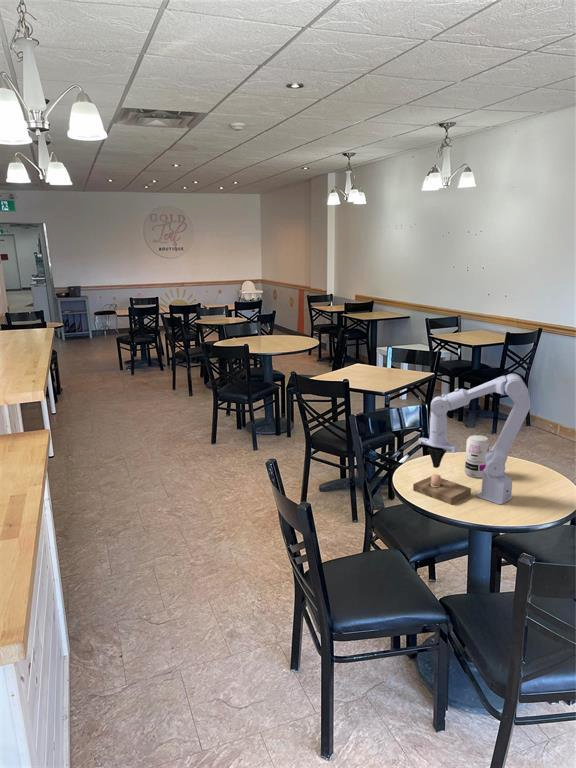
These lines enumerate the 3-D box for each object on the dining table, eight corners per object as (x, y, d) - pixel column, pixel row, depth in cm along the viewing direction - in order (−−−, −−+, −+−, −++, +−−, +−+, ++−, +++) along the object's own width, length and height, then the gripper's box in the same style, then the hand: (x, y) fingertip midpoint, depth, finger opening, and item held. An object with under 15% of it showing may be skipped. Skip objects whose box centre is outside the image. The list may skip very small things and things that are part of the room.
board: (470, 494, 196) (470, 488, 195) (451, 504, 188) (451, 497, 188) (432, 481, 208) (433, 475, 207) (413, 490, 200) (413, 483, 200)
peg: (441, 491, 199) (442, 475, 198) (437, 494, 197) (438, 478, 195) (433, 488, 201) (434, 473, 200) (428, 491, 199) (429, 476, 198)
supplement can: (483, 470, 217) (486, 434, 214) (489, 479, 209) (491, 441, 206) (462, 470, 218) (465, 434, 215) (467, 478, 210) (469, 441, 207)
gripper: (462, 432, 192) (460, 469, 195) (426, 424, 202) (425, 458, 205) (452, 437, 187) (450, 474, 190) (415, 428, 197) (414, 463, 200)
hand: (436, 466), depth 197 cm, fingers closed
